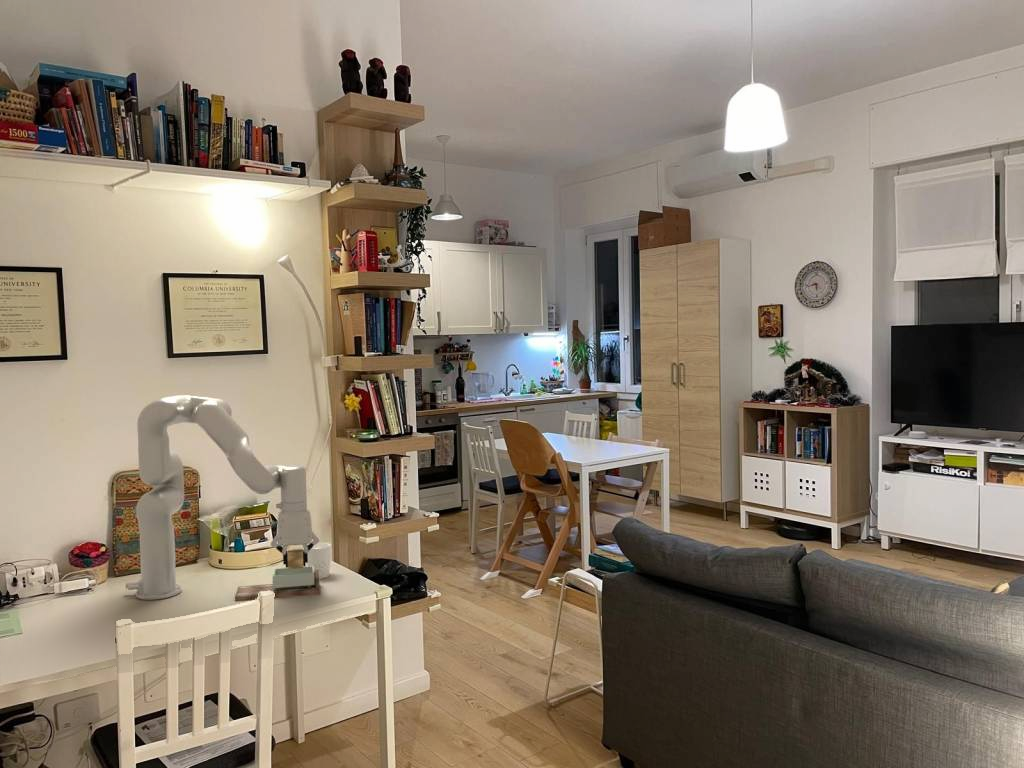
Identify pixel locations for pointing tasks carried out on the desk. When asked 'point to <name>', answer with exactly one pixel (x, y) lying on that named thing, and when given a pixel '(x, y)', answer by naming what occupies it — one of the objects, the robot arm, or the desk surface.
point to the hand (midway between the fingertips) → (295, 565)
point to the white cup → (320, 558)
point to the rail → (253, 591)
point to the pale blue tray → (293, 577)
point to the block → (295, 558)
